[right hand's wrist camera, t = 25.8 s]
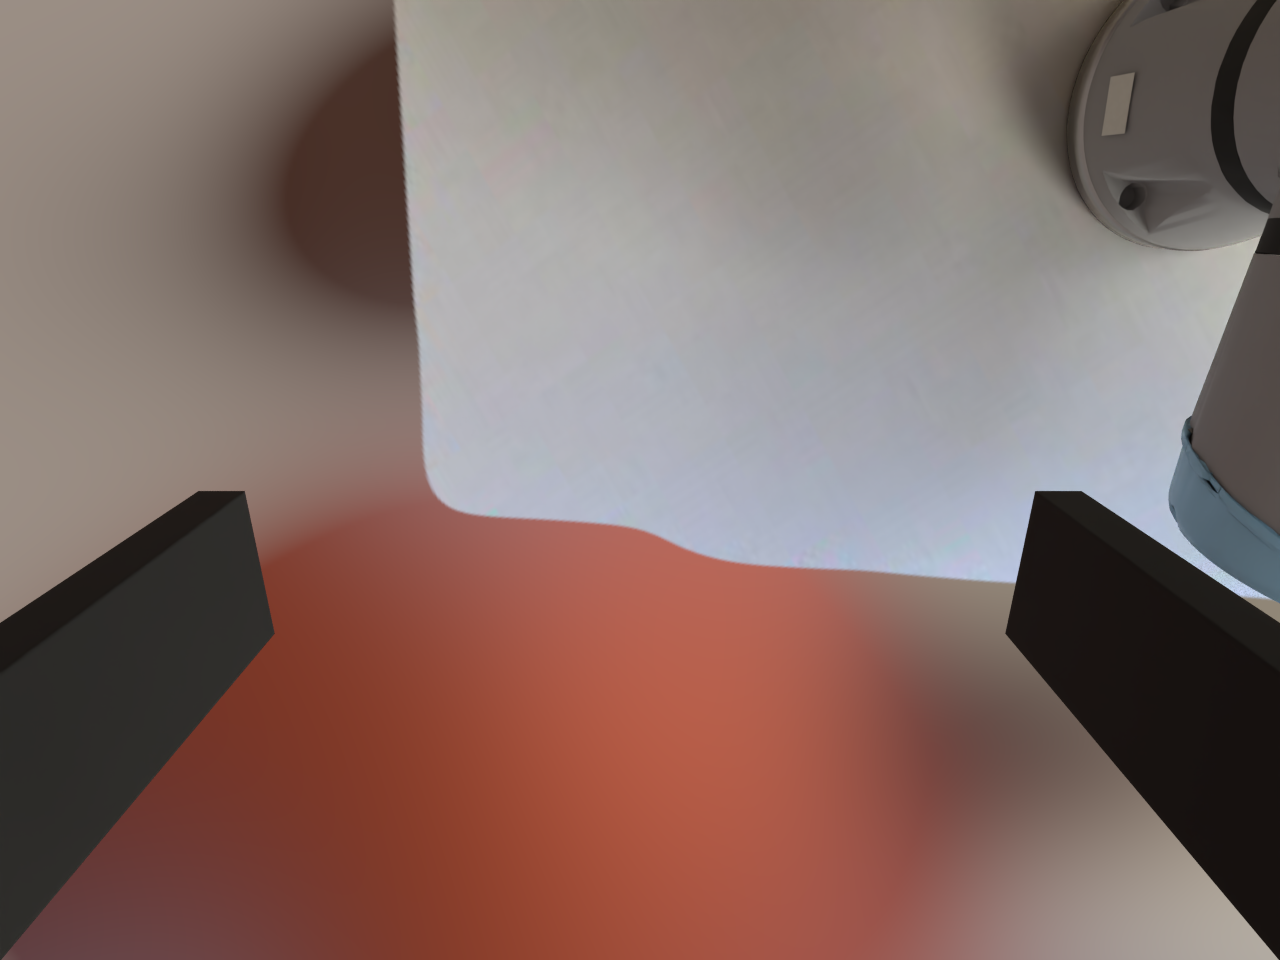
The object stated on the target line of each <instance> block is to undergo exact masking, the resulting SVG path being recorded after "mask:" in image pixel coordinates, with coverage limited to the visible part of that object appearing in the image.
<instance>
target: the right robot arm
mask: <svg viewBox="0 0 1280 960" xmlns="http://www.w3.org/2000/svg"><path fill="white" fill-rule="evenodd" d="M1067 147H1068V156H1069V163H1070V167H1071V171H1072V175H1073V178H1074V181H1075V184H1076V186H1077V189H1078V191H1079V193H1080V195H1081V197H1082V199H1083V201H1084V202H1085V203H1086V205H1087V206H1088V208H1089V209H1090V211H1091V212H1092V213H1093V214H1094V215H1095V217H1096V218H1097V219H1098V220H1099V221H1100V222H1101V223H1102V224H1104V225H1105V226H1106V227H1107V228H1108V229H1110V230H1111V231H1113V232H1114V233H1116V234H1117V235H1119V236H1121V237H1123V238H1125V239H1127V240H1129V241H1132V242H1134V243H1137V244H1140V245H1144V246H1148V247H1153V248H1161V249H1170V250H1183V251H1197V250H1208V249H1214V248H1220V247H1224V246H1229V245H1233V244H1237V243H1241V242H1244V241H1247V240H1250V239H1253V238H1256V237H1259V236H1261V238H1260V241H1259V244H1258V246H1257V249H1256V251H1255V253H1254V255H1253V258H1252V260H1251V263H1250V265H1249V268H1248V271H1247V273H1246V276H1245V278H1244V281H1243V284H1242V286H1241V289H1240V291H1239V294H1238V297H1237V299H1236V302H1235V305H1234V307H1233V310H1232V312H1231V315H1230V318H1229V320H1228V323H1227V325H1226V328H1225V331H1224V333H1223V336H1222V338H1221V341H1220V344H1219V346H1218V349H1217V352H1216V354H1215V357H1214V359H1213V362H1212V365H1211V367H1210V370H1209V372H1208V375H1207V378H1206V380H1205V383H1204V385H1203V388H1202V391H1201V393H1200V396H1199V399H1198V401H1197V404H1196V406H1195V409H1194V412H1193V414H1192V416H1190V417H1189V418H1188V419H1186V421H1185V424H1184V426H1183V429H1182V436H1181V440H1182V445H1183V447H1182V450H1181V453H1180V456H1179V459H1178V463H1177V466H1176V469H1175V472H1174V476H1173V479H1172V482H1171V485H1170V489H1169V507H1170V511H1171V513H1172V515H1173V517H1174V519H1175V520H1176V522H1177V523H1178V527H1179V529H1180V531H1181V532H1182V534H1183V535H1184V536H1185V537H1186V539H1187V540H1188V541H1189V542H1190V543H1191V544H1192V545H1193V546H1194V547H1195V548H1196V549H1197V550H1198V551H1199V552H1200V553H1202V554H1203V555H1204V556H1205V557H1206V558H1207V559H1209V560H1210V561H1211V562H1212V563H1214V564H1215V565H1216V566H1218V567H1219V568H1221V569H1222V570H1223V571H1225V572H1226V573H1228V574H1229V575H1231V576H1232V577H1234V578H1236V579H1237V580H1239V581H1240V582H1242V583H1244V584H1245V585H1247V586H1249V587H1251V588H1252V589H1254V590H1256V591H1258V592H1259V593H1261V594H1263V595H1265V596H1267V597H1269V598H1271V599H1273V600H1274V601H1276V602H1278V603H1280V256H1279V255H1280V0H1124V1H1123V2H1122V3H1121V4H1120V5H1119V6H1118V7H1117V8H1116V10H1115V11H1114V12H1113V13H1112V15H1111V16H1110V17H1109V18H1108V20H1107V21H1106V23H1105V24H1104V26H1103V27H1102V29H1101V30H1100V31H1099V33H1098V35H1097V36H1096V38H1095V40H1094V42H1093V43H1092V45H1091V47H1090V49H1089V51H1088V53H1087V55H1086V57H1085V59H1084V61H1083V64H1082V66H1081V69H1080V71H1079V74H1078V76H1077V80H1076V83H1075V86H1074V89H1073V93H1072V98H1071V102H1070V107H1069V114H1068V122H1067ZM1268 254H1271V255H1268ZM273 635H274V629H273V624H272V619H271V615H270V609H269V605H268V600H267V595H266V591H265V586H264V581H263V576H262V572H261V567H260V562H259V557H258V553H257V548H256V543H255V538H254V533H253V529H252V524H251V519H250V514H249V510H248V505H247V500H246V495H245V491H198V492H197V493H195V494H194V495H192V496H191V497H189V498H188V499H186V500H185V501H183V502H182V503H180V504H179V505H177V506H176V507H174V508H172V509H171V510H169V511H168V512H166V513H165V514H163V515H162V516H161V517H159V518H157V519H156V520H154V521H153V522H151V523H150V524H148V525H147V526H146V527H144V528H142V529H141V530H139V531H138V532H136V533H135V534H133V535H132V536H130V537H129V538H127V539H126V540H124V541H123V542H121V543H120V544H118V545H117V546H115V547H114V548H112V549H111V550H109V551H108V552H106V553H105V554H103V555H102V556H100V557H99V558H97V559H96V560H94V561H93V562H91V563H90V564H88V565H87V566H85V567H84V568H82V569H81V570H79V571H78V572H76V573H75V574H73V575H72V576H70V577H69V578H67V579H66V580H64V581H63V582H61V583H60V584H58V585H57V586H55V587H54V588H52V589H51V590H49V591H48V592H46V593H45V594H43V595H42V596H40V597H39V598H37V599H36V600H34V601H33V602H31V603H30V604H28V605H27V606H25V607H24V608H22V609H21V610H19V611H18V612H16V613H15V614H13V615H12V616H10V617H8V618H7V619H5V620H4V621H3V622H1V623H0V960H1V959H2V958H3V957H4V956H5V954H6V953H7V952H8V951H9V950H10V948H11V947H12V946H13V945H14V944H15V943H16V941H17V940H18V939H19V938H20V937H21V935H22V934H23V933H24V932H25V931H26V929H27V928H28V927H29V926H30V925H31V923H32V922H33V921H34V920H35V919H36V917H37V916H38V915H39V914H40V913H41V911H42V910H43V909H44V908H45V907H46V906H47V904H48V903H49V902H50V901H51V900H52V898H53V897H54V896H55V895H56V894H57V892H58V891H59V890H60V889H61V888H62V886H63V885H64V884H65V883H66V882H67V880H68V879H69V878H70V877H71V876H72V874H73V873H74V872H75V871H76V870H77V869H78V867H79V866H80V865H81V864H82V863H83V861H84V860H85V859H86V858H87V857H88V855H89V854H90V853H91V852H92V851H93V849H94V848H95V847H96V846H97V845H98V844H99V842H100V841H101V840H102V839H103V837H104V836H105V835H106V834H107V833H108V832H109V830H110V829H111V828H112V827H113V826H114V824H115V823H116V822H117V821H118V820H119V818H120V817H121V816H122V815H123V814H124V812H125V811H126V810H127V809H128V808H129V807H130V805H131V804H132V803H133V802H134V801H135V799H136V798H137V797H138V796H139V795H140V793H141V792H142V791H143V790H144V789H145V787H146V786H147V785H148V784H149V783H150V782H151V780H152V779H153V778H154V777H155V776H156V774H157V773H158V772H159V771H160V770H161V768H162V767H163V766H164V765H165V764H166V762H167V761H168V760H169V759H170V758H171V756H172V755H173V754H174V753H175V752H176V751H177V749H178V748H179V747H180V746H181V745H182V743H183V742H184V741H185V740H186V738H187V737H188V736H189V735H190V734H191V733H192V731H193V730H194V729H195V728H196V727H197V725H198V724H199V723H200V722H201V721H202V719H203V718H204V717H205V716H206V715H207V714H208V712H209V711H210V710H211V709H212V707H213V706H214V705H215V704H216V703H217V702H218V700H219V699H220V698H221V697H222V696H223V694H224V693H225V692H226V691H227V690H228V689H229V687H230V686H231V685H232V684H233V683H234V681H235V680H236V679H237V678H238V677H239V675H240V674H241V673H242V672H243V671H244V669H245V668H246V667H247V666H248V665H249V663H250V662H251V661H252V660H253V659H254V657H255V656H256V655H257V654H258V653H259V652H260V650H261V649H262V648H263V647H264V646H265V644H266V643H267V642H268V641H269V640H270V638H271V637H272V636H273ZM1006 635H1007V636H1008V637H1009V638H1010V640H1011V641H1012V642H1013V643H1014V644H1015V645H1016V647H1017V648H1018V649H1019V650H1020V652H1021V653H1022V654H1023V655H1024V656H1025V657H1026V659H1027V660H1028V661H1029V662H1030V663H1031V665H1032V666H1033V667H1034V668H1035V669H1036V671H1037V672H1038V673H1039V674H1040V675H1041V677H1042V678H1043V679H1044V680H1045V681H1046V683H1047V684H1048V685H1049V686H1050V687H1051V688H1052V690H1053V691H1054V692H1055V693H1056V694H1057V696H1058V697H1059V698H1060V699H1061V700H1062V702H1063V703H1064V704H1065V705H1066V706H1067V708H1068V709H1069V710H1070V711H1071V712H1072V714H1073V715H1074V716H1075V717H1076V718H1077V719H1078V721H1079V722H1080V723H1081V724H1082V725H1083V727H1084V728H1085V729H1086V730H1087V731H1088V733H1089V734H1090V735H1091V736H1092V737H1093V739H1094V740H1095V741H1096V742H1097V743H1098V745H1099V746H1100V747H1101V748H1102V749H1103V751H1104V752H1105V753H1106V754H1107V755H1108V756H1109V758H1110V759H1111V760H1112V761H1113V762H1114V764H1115V765H1116V766H1117V767H1118V768H1119V770H1120V771H1121V772H1122V773H1123V774H1124V776H1125V777H1126V778H1127V779H1128V780H1129V781H1130V783H1131V784H1132V785H1133V786H1134V787H1135V789H1136V790H1137V791H1138V792H1139V793H1140V795H1141V796H1142V797H1143V798H1144V799H1145V801H1146V802H1147V803H1148V804H1149V805H1150V807H1151V808H1152V809H1153V810H1154V811H1155V812H1156V814H1157V815H1158V816H1159V817H1160V818H1161V820H1162V821H1163V822H1164V823H1165V824H1166V826H1167V827H1168V828H1169V829H1170V830H1171V832H1172V833H1173V834H1174V835H1175V836H1176V838H1177V839H1178V840H1179V841H1180V842H1181V844H1182V845H1183V846H1184V847H1185V848H1186V849H1187V851H1188V852H1189V853H1190V854H1191V855H1192V857H1193V858H1194V859H1195V860H1196V861H1197V862H1198V864H1199V865H1200V866H1201V867H1202V868H1203V870H1204V871H1205V872H1206V873H1207V874H1208V876H1209V877H1210V878H1211V879H1212V880H1213V882H1214V883H1215V884H1216V885H1217V886H1218V888H1219V889H1220V890H1221V891H1222V892H1223V894H1224V895H1225V896H1226V897H1227V898H1228V900H1229V901H1230V902H1231V903H1232V904H1233V905H1234V907H1235V908H1236V909H1237V910H1238V911H1239V913H1240V914H1241V915H1242V916H1243V917H1244V919H1245V920H1246V921H1247V922H1248V923H1249V925H1250V926H1251V927H1252V928H1253V929H1254V931H1255V932H1256V933H1257V934H1258V935H1259V937H1260V938H1261V939H1262V940H1263V941H1264V942H1265V944H1266V945H1267V946H1268V947H1269V948H1270V950H1271V951H1272V952H1273V953H1274V954H1275V956H1276V957H1277V958H1278V959H1279V960H1280V623H1279V622H1278V621H1276V620H1275V619H1273V618H1272V617H1270V616H1268V615H1267V614H1265V613H1264V612H1262V611H1261V610H1259V609H1258V608H1256V607H1255V606H1253V605H1252V604H1250V603H1249V602H1247V601H1246V600H1244V599H1243V598H1241V597H1240V596H1238V595H1237V594H1235V593H1234V592H1232V591H1231V590H1229V589H1228V588H1226V587H1225V586H1223V585H1222V584H1220V583H1219V582H1217V581H1216V580H1214V579H1213V578H1211V577H1210V576H1208V575H1207V574H1205V573H1204V572H1202V571H1201V570H1199V569H1198V568H1196V567H1195V566H1193V565H1192V564H1190V563H1189V562H1187V561H1186V560H1184V559H1183V558H1181V557H1180V556H1178V555H1177V554H1175V553H1174V552H1172V551H1171V550H1169V549H1168V548H1166V547H1165V546H1163V545H1162V544H1160V543H1159V542H1157V541H1156V540H1154V539H1153V538H1151V537H1150V536H1148V535H1147V534H1145V533H1144V532H1142V531H1141V530H1139V529H1138V528H1136V527H1135V526H1133V525H1132V524H1130V523H1129V522H1127V521H1126V520H1124V519H1123V518H1121V517H1120V516H1118V515H1117V514H1115V513H1114V512H1112V511H1111V510H1109V509H1108V508H1106V507H1104V506H1103V505H1101V504H1100V503H1098V502H1097V501H1095V500H1094V499H1092V498H1091V497H1089V496H1088V495H1086V494H1085V493H1083V492H1082V491H1035V495H1034V500H1033V505H1032V509H1031V514H1030V519H1029V524H1028V528H1027V533H1026V538H1025V543H1024V548H1023V552H1022V557H1021V562H1020V567H1019V571H1018V576H1017V581H1016V586H1015V591H1014V595H1013V600H1012V605H1011V610H1010V614H1009V619H1008V624H1007V629H1006Z"/></svg>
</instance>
